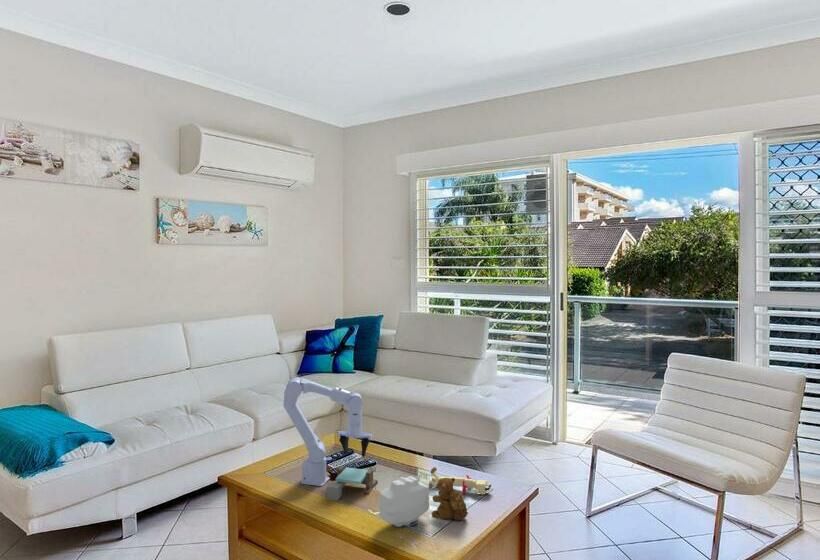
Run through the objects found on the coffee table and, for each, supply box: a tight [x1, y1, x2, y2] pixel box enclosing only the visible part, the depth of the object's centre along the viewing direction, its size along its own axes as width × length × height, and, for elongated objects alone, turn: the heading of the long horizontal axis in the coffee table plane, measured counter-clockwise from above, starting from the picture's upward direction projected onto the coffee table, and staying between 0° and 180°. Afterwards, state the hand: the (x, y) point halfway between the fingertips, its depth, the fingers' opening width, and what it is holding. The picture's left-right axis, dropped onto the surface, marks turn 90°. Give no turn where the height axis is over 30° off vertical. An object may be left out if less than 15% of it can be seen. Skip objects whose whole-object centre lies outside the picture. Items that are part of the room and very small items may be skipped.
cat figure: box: [428, 466, 493, 495], centre depth 206 cm, size 10×9×25 cm
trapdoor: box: [335, 467, 369, 485], centre depth 205 cm, size 10×11×4 cm
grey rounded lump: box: [377, 473, 430, 528], centre depth 180 cm, size 11×18×16 cm, turn 127°
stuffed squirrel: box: [431, 478, 469, 521], centre depth 185 cm, size 10×14×13 cm
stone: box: [326, 481, 343, 501], centre depth 198 cm, size 4×4×5 cm
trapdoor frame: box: [336, 465, 378, 494], centre depth 209 cm, size 14×10×8 cm
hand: (354, 455), depth 214 cm, fingers open, 7 cm apart
